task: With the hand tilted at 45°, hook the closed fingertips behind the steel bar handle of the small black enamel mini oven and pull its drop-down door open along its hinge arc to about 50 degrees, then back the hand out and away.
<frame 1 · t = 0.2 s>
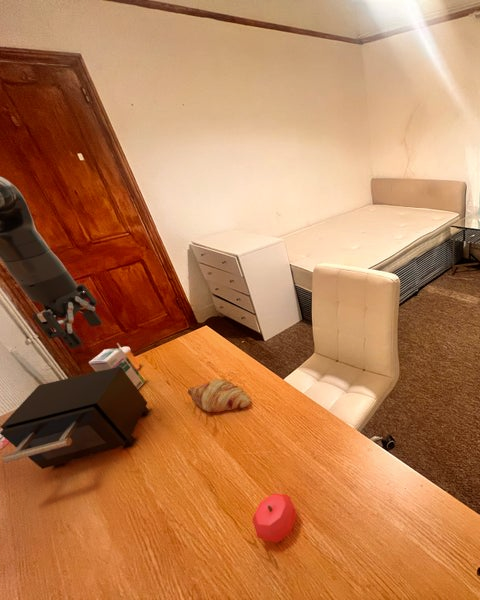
hand: (87, 335, 73), 29 cm above the table, tool pointing down, fingers open, 8 cm apart
syrup box: (131, 389, 99), on the table
oven: (105, 438, 83), on the table
apple: (280, 525, 63), on the table
croissant: (221, 402, 92), on the table
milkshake: (134, 369, 107), on the table
oven door: (59, 449, 70), point 10 cm above the table, hinge at 0.0°
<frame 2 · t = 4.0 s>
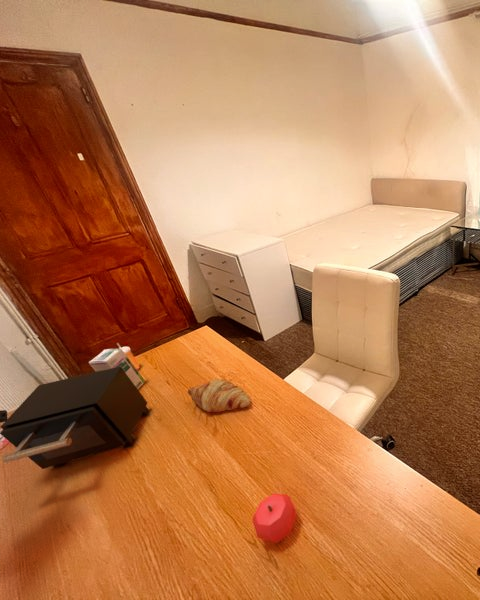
hand: (2, 416, 60), 24 cm above the table, tool tilted 45°, fingers closed
nothing on the table moved.
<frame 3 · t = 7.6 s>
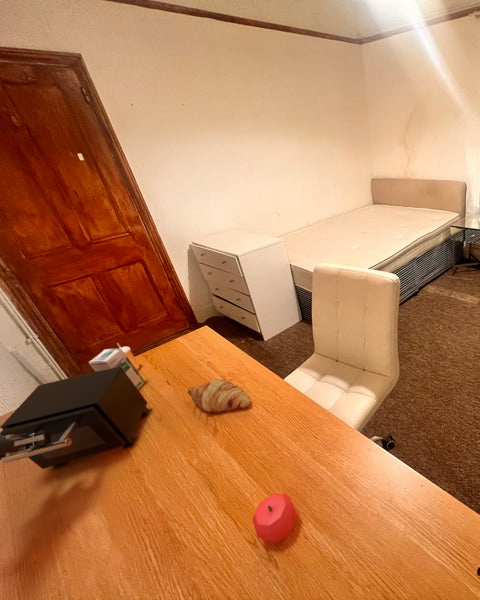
hand: (46, 439, 68), 14 cm above the table, tool tilted 45°, fingers closed
oven door: (59, 450, 70), point 10 cm above the table, hinge at 0.5°, touching gripper
everything else where it was.
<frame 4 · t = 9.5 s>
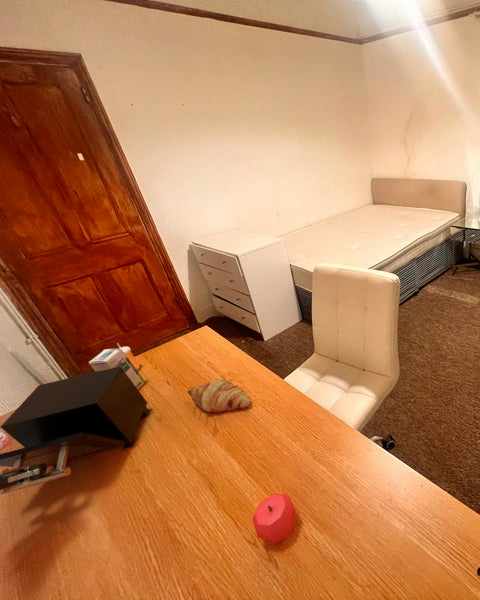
hand: (41, 469, 65), 11 cm above the table, tool tilted 45°, fingers closed
oven door: (57, 466, 69), point 8 cm above the table, hinge at 27.7°, touching gripper
everything else where it was.
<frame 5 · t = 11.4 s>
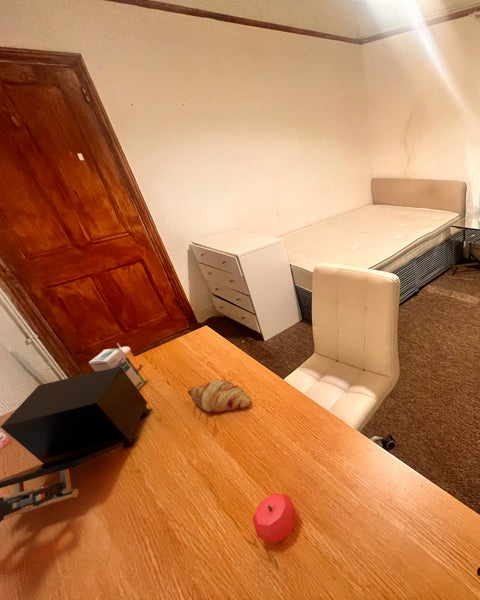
hand: (44, 492, 65), 7 cm above the table, tool tilted 45°, fingers closed on oven door, 4 cm apart
oven door: (61, 479, 69), point 5 cm above the table, hinge at 50.7°, touching gripper
everything else where it was.
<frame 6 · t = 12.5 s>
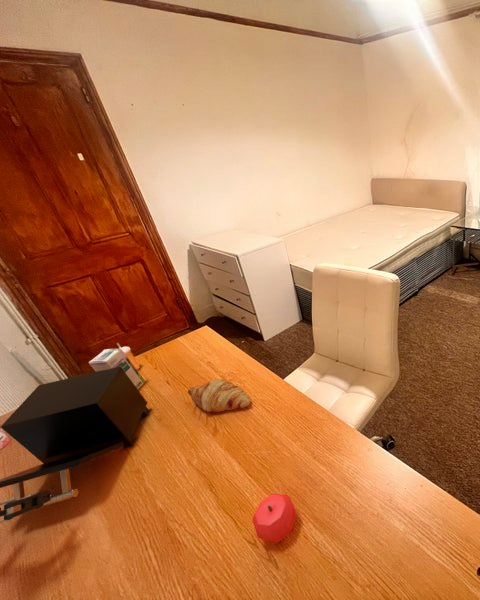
hand: (22, 503, 60), 10 cm above the table, tool tilted 45°, fingers open, 8 cm apart
oven door: (61, 479, 69), point 5 cm above the table, hinge at 50.5°
everything else where it was.
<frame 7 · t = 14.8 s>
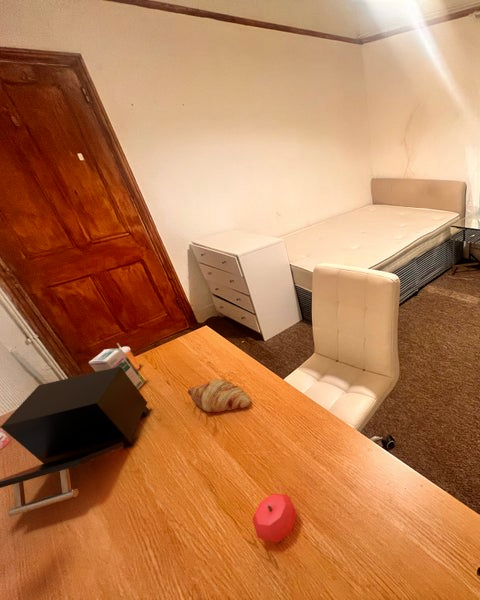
nothing on the table moved.
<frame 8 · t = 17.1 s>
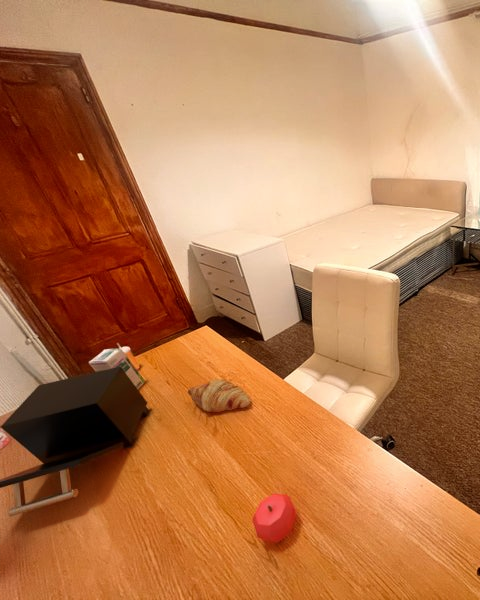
nothing on the table moved.
at the end: oven door at +50° (first picture: +0°) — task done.
